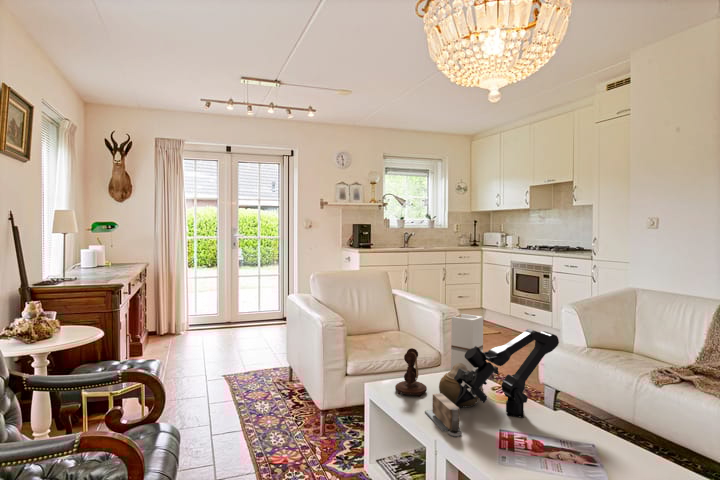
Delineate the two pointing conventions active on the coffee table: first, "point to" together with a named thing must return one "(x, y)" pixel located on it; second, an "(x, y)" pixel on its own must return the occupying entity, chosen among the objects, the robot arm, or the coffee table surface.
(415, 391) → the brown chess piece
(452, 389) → the brown round pot
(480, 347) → the white square post
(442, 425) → the label board
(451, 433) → the hinge base
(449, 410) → the block
